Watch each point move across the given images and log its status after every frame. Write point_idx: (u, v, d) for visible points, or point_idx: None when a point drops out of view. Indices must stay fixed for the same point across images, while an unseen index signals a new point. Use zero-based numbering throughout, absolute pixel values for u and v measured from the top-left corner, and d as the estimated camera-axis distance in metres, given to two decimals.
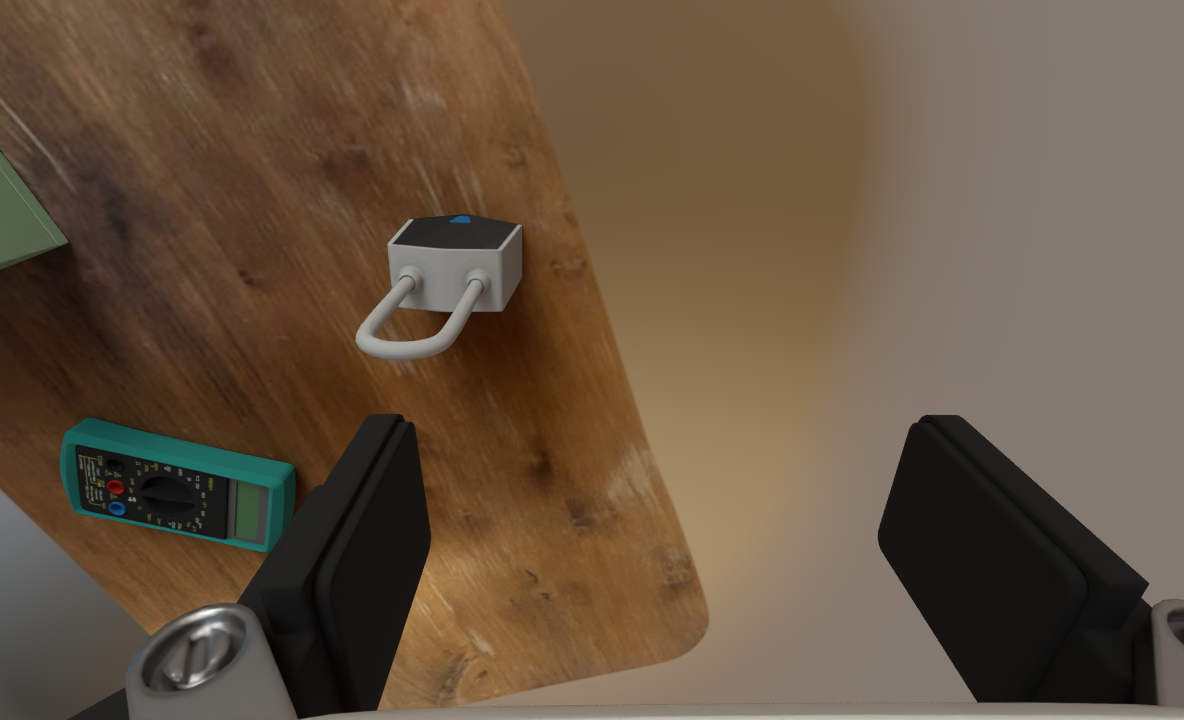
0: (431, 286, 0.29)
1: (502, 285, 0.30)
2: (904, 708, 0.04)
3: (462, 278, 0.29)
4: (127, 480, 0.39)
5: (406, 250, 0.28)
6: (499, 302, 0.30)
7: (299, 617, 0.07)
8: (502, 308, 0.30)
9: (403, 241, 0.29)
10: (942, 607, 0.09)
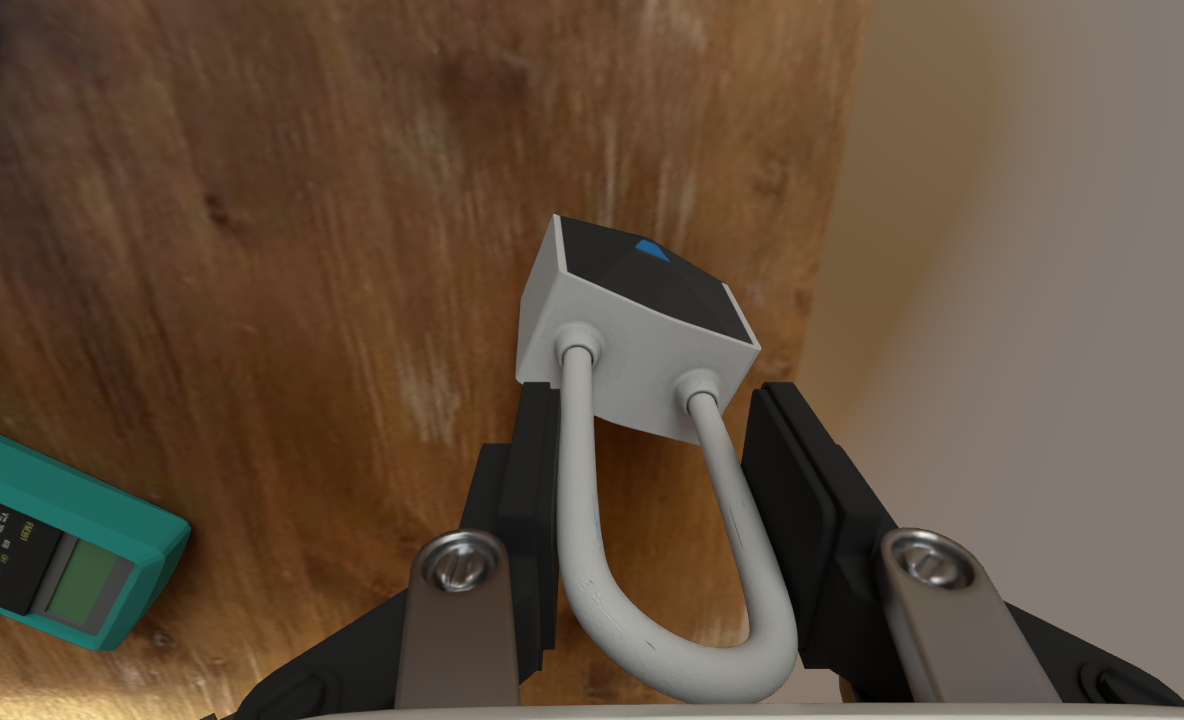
0: (610, 373, 0.15)
1: None
2: (904, 708, 0.04)
3: (673, 377, 0.15)
4: None
5: (594, 295, 0.14)
6: None
7: (525, 542, 0.08)
8: None
9: (584, 272, 0.15)
10: None
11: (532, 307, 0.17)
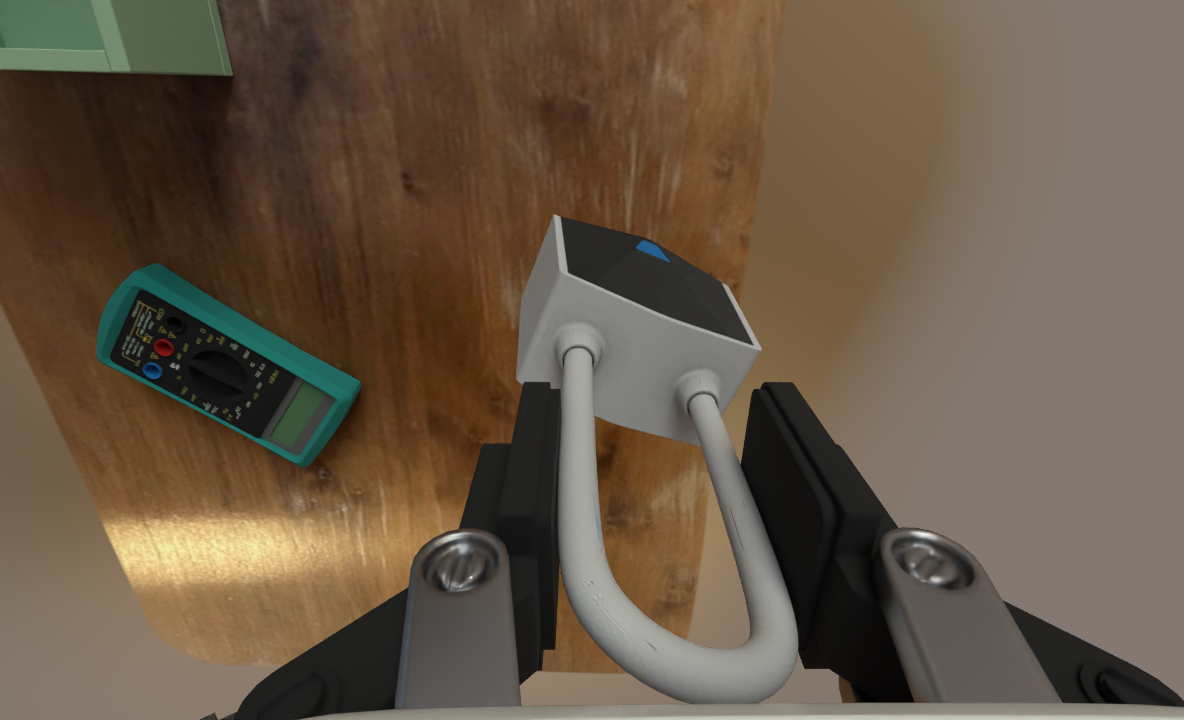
0: (610, 373, 0.15)
1: None
2: (904, 708, 0.04)
3: (673, 378, 0.15)
4: (180, 344, 0.35)
5: (595, 296, 0.14)
6: None
7: (525, 542, 0.08)
8: None
9: (585, 273, 0.15)
10: None
11: (533, 308, 0.17)
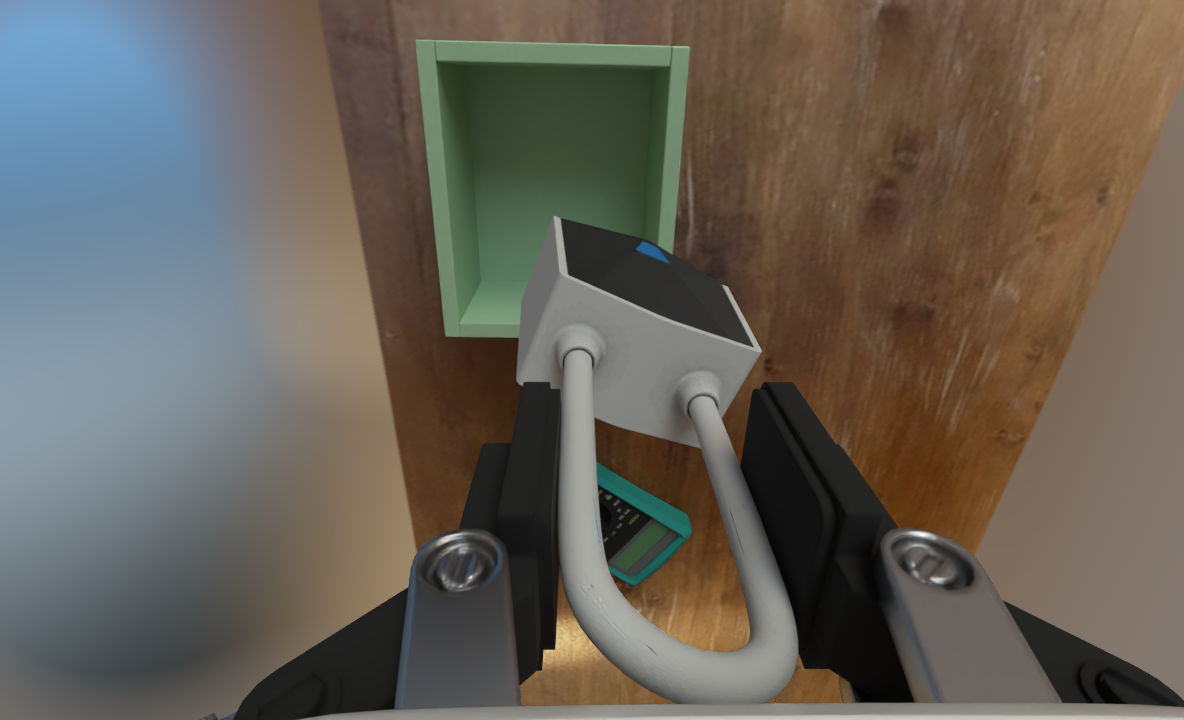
0: (610, 375, 0.15)
1: None
2: (904, 708, 0.04)
3: (673, 379, 0.15)
4: None
5: (595, 298, 0.14)
6: None
7: (525, 542, 0.08)
8: None
9: (585, 274, 0.15)
10: None
11: (533, 309, 0.17)
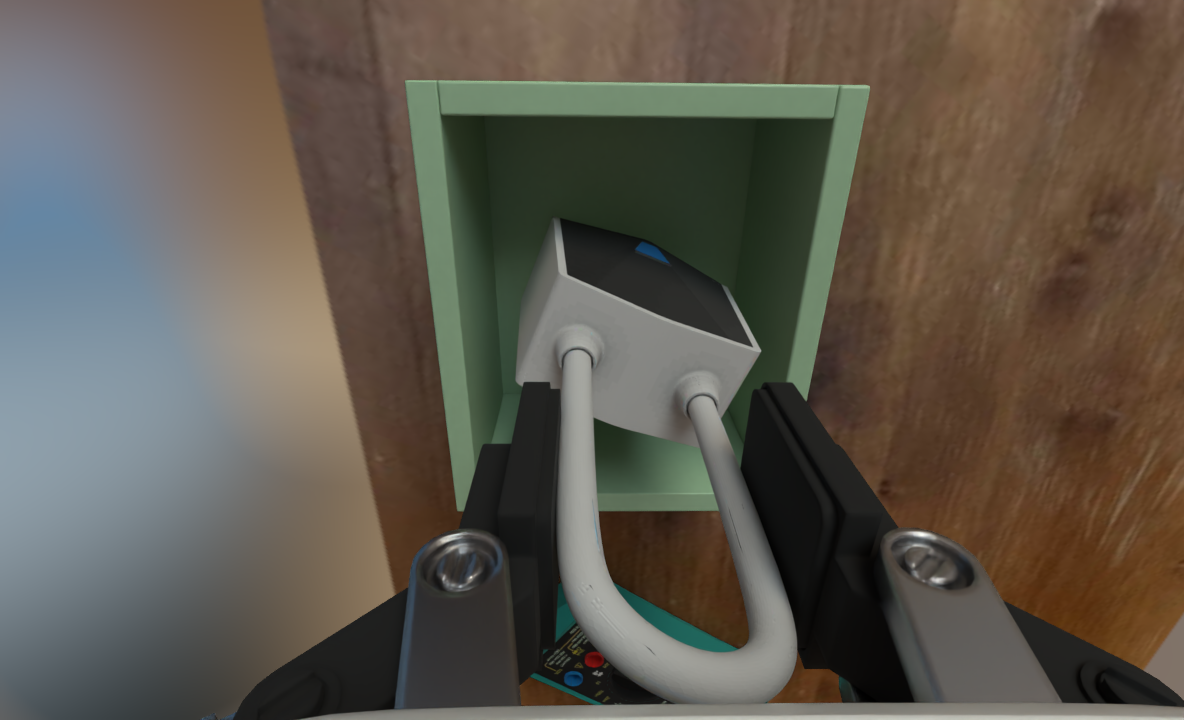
0: (609, 375, 0.15)
1: None
2: (904, 708, 0.04)
3: (673, 379, 0.15)
4: None
5: (594, 297, 0.14)
6: None
7: (525, 542, 0.08)
8: None
9: (584, 274, 0.15)
10: None
11: (532, 309, 0.17)
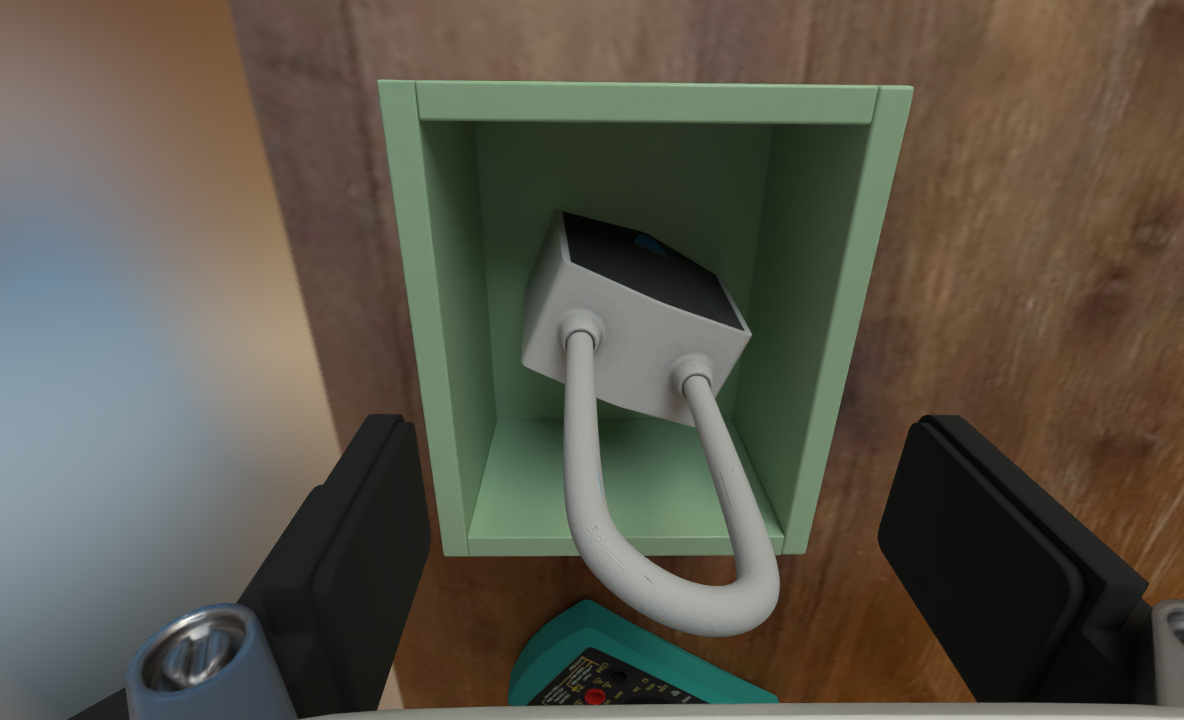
0: (610, 357, 0.16)
1: (719, 388, 0.17)
2: (904, 708, 0.04)
3: (669, 361, 0.16)
4: (614, 693, 0.29)
5: (596, 283, 0.15)
6: None
7: (299, 617, 0.07)
8: None
9: (586, 262, 0.16)
10: (942, 607, 0.09)
11: (536, 296, 0.17)
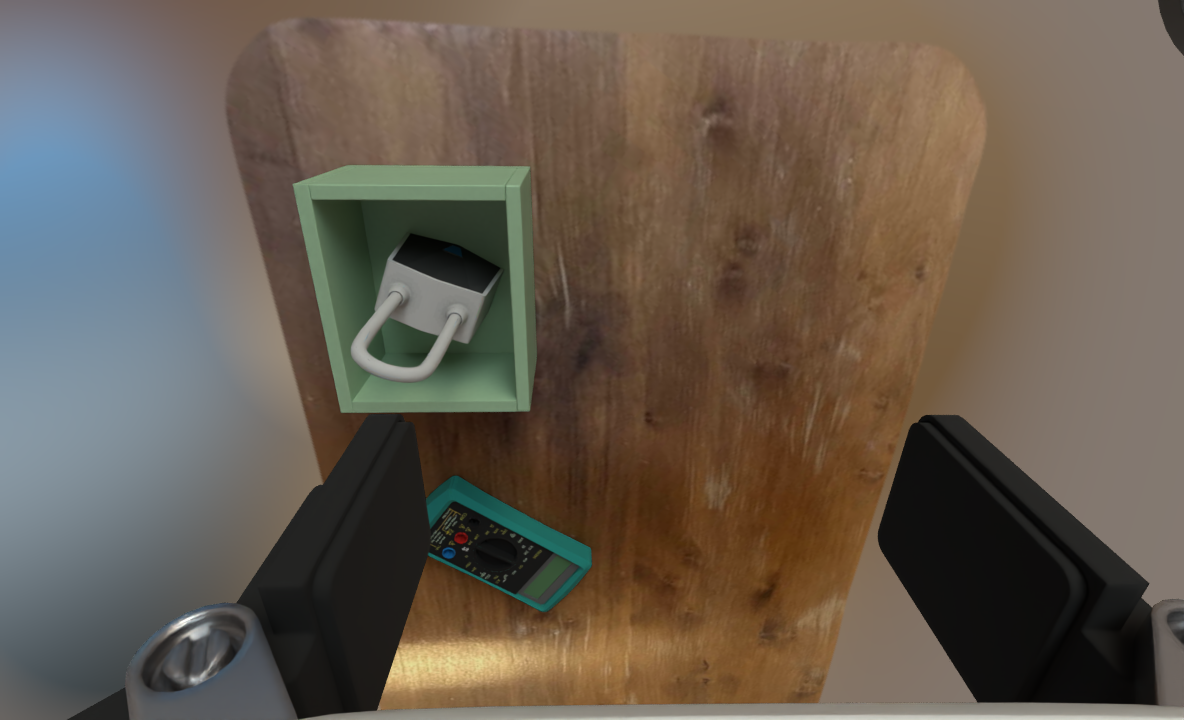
0: (414, 306, 0.33)
1: (475, 323, 0.34)
2: (904, 708, 0.04)
3: (444, 308, 0.33)
4: (473, 535, 0.46)
5: (403, 270, 0.32)
6: (468, 336, 0.34)
7: (299, 617, 0.07)
8: (469, 341, 0.34)
9: (402, 260, 0.32)
10: (942, 607, 0.09)
11: None
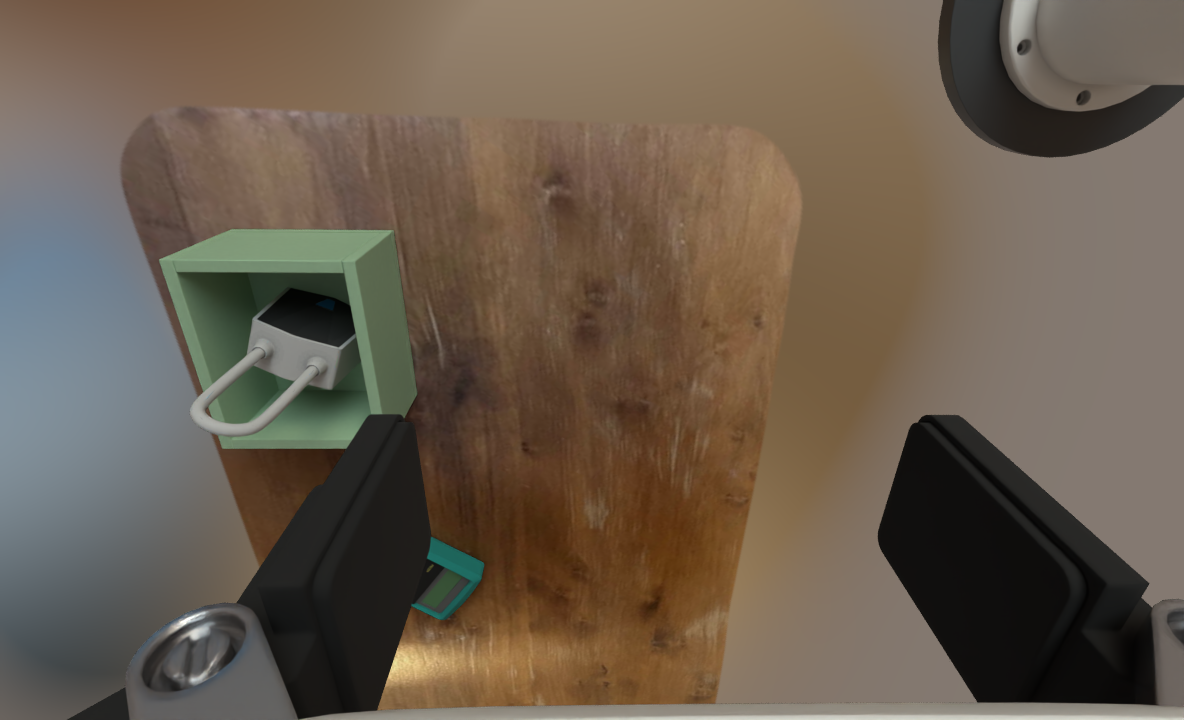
0: (278, 358, 0.37)
1: (336, 372, 0.39)
2: (904, 708, 0.04)
3: (305, 360, 0.38)
4: None
5: (266, 328, 0.37)
6: (330, 383, 0.39)
7: (299, 617, 0.07)
8: (332, 387, 0.39)
9: (267, 318, 0.37)
10: (942, 607, 0.09)
11: None
